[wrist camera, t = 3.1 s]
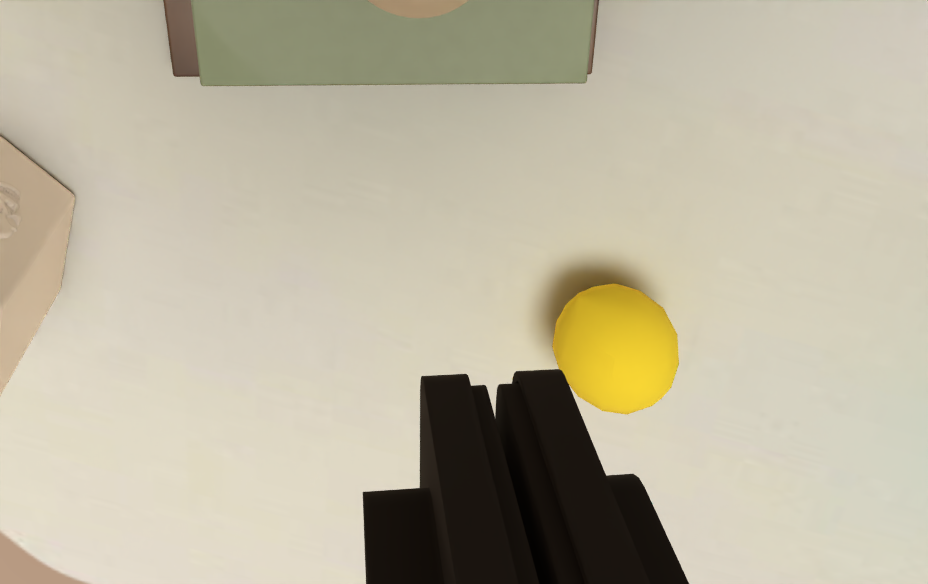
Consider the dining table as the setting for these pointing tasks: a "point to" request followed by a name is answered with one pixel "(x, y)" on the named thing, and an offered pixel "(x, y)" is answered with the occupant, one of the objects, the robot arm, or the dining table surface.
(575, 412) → the robot arm
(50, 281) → the jar
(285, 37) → the block
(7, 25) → the dining table surface
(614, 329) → the lemon
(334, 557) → the dining table surface
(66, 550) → the dining table surface
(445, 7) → the bottle
